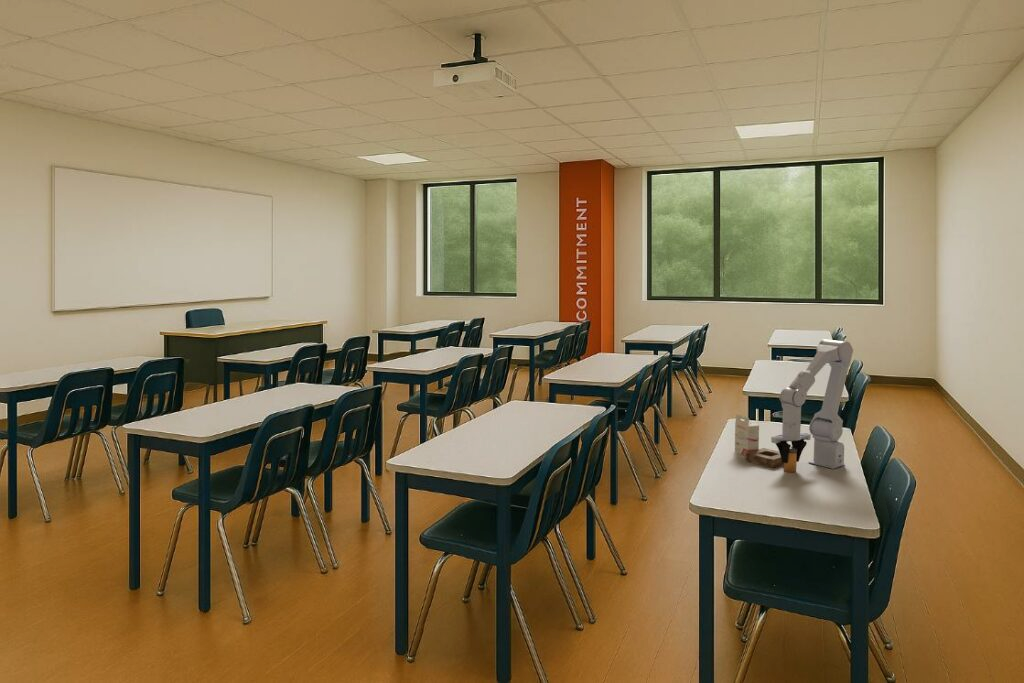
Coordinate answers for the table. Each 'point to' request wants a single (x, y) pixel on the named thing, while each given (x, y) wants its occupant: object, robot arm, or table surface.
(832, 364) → the robot arm
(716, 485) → the table surface
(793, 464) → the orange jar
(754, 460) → the socket block
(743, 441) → the ink cartridge box
